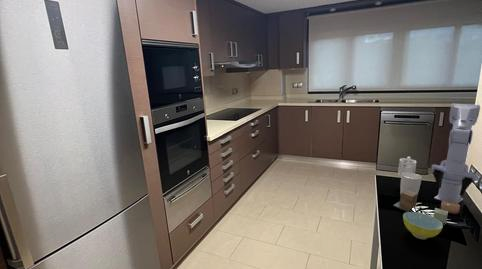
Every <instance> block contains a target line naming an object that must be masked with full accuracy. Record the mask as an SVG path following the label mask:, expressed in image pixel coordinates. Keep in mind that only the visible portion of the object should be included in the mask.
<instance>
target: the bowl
mask: <svg viewBox="0 0 482 269" xmlns="http://www.w3.org/2000/svg"><path fill="white" fill-rule="evenodd" d="M402 218H403V219H402V221H403V223H404V226H405V228H406V229H407V230H408V231H409V232H410V233H411V234H412V236H413V237H415V238H416V239H420V240H427V239H428V238H434V237H436V236H437V235H439V234H440V233H441V232H442V230H443V227H444V226H443V225H444V224H442V223H441V222H440V221H439V220H437V219H436V218H434V217H433V216H432V215H429V214H426V213H423V212H419V211H417V212H407V211H405V212H404V213H403V214H402Z"/></svg>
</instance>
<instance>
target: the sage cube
mask: <svg viewBox="0 0 482 269" xmlns="http://www.w3.org/2000/svg"><path fill="white" fill-rule="evenodd" d="M448 214H449V213H448V211H445V210H442V209H441V208H437V207H435V208H434V211H433V216H432V217H434V218H436V219H437V220H439V221H440V222H442V223H445V224H446V225H447V221H448V220H447V219H448ZM445 224H444V225H445Z"/></svg>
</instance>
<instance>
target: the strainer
mask: <svg viewBox="0 0 482 269" xmlns="http://www.w3.org/2000/svg"><path fill="white" fill-rule="evenodd" d="M416 167H417V160H415V159H412V158H411V156H407V157H406V158H405V157H403V158H399V163H398V169H397V176H398V177H399V178H401V174H402V173H406V172H407V173H414V174H416Z"/></svg>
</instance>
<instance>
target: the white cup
mask: <svg viewBox="0 0 482 269" xmlns="http://www.w3.org/2000/svg"><path fill="white" fill-rule="evenodd" d="M400 178H401V179H400V192H399V194H400V195H401V192H403V191H405V190H408V191H411V192H414V193H417V194H418V195H419V190H420V186H421V183H422V179H423V178H422V176H421V175H420V174H418V173H417V174H416V173H415V174H414V173H407V172H406V173H402V174H401V177H400Z"/></svg>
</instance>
